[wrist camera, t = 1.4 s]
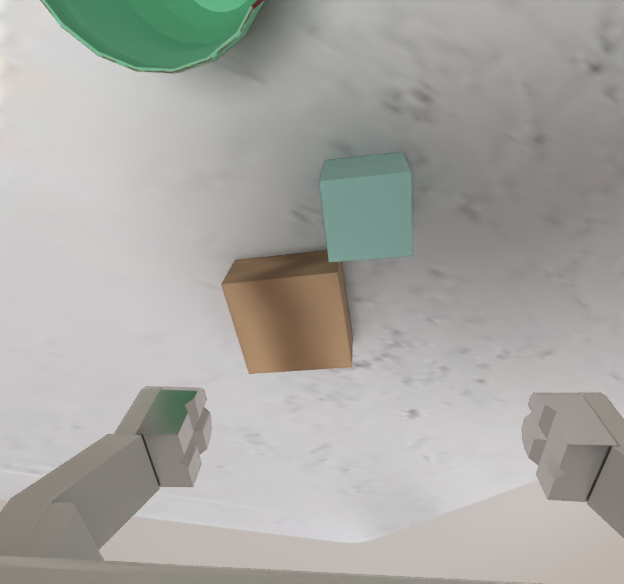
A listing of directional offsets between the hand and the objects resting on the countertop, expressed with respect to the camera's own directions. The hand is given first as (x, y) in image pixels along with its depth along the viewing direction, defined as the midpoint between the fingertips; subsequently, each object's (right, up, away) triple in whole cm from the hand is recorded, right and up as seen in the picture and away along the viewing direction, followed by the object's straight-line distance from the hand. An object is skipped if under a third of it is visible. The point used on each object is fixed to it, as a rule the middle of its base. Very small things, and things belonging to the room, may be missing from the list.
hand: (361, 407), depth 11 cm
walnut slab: (-2, +2, +23) cm, 23 cm away
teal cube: (+2, +10, +18) cm, 20 cm away
